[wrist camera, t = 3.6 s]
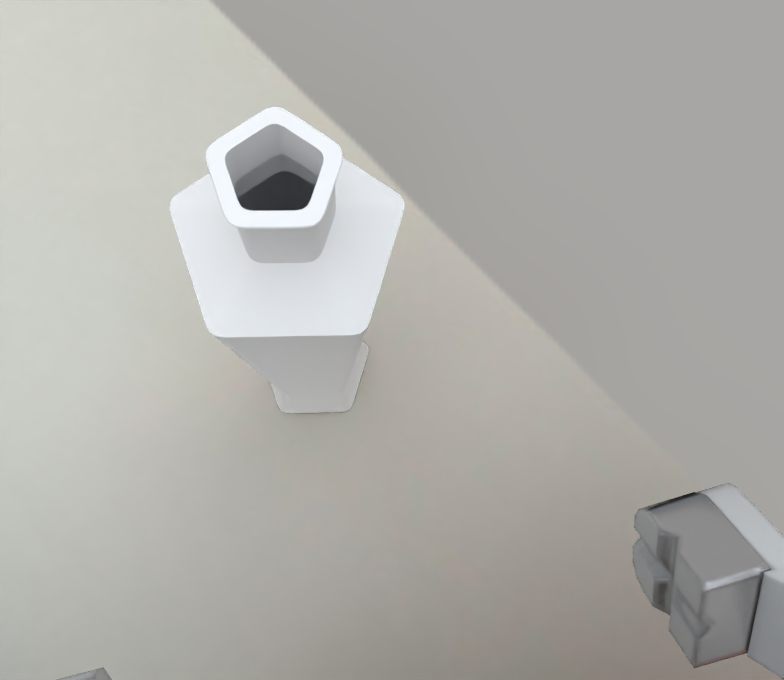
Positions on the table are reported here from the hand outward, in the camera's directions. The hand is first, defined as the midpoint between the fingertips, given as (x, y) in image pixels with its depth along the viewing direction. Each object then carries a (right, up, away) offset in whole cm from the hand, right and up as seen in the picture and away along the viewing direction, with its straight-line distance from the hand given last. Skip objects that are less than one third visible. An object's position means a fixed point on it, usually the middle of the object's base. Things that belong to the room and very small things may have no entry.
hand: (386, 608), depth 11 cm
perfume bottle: (-3, +3, +15) cm, 16 cm away
